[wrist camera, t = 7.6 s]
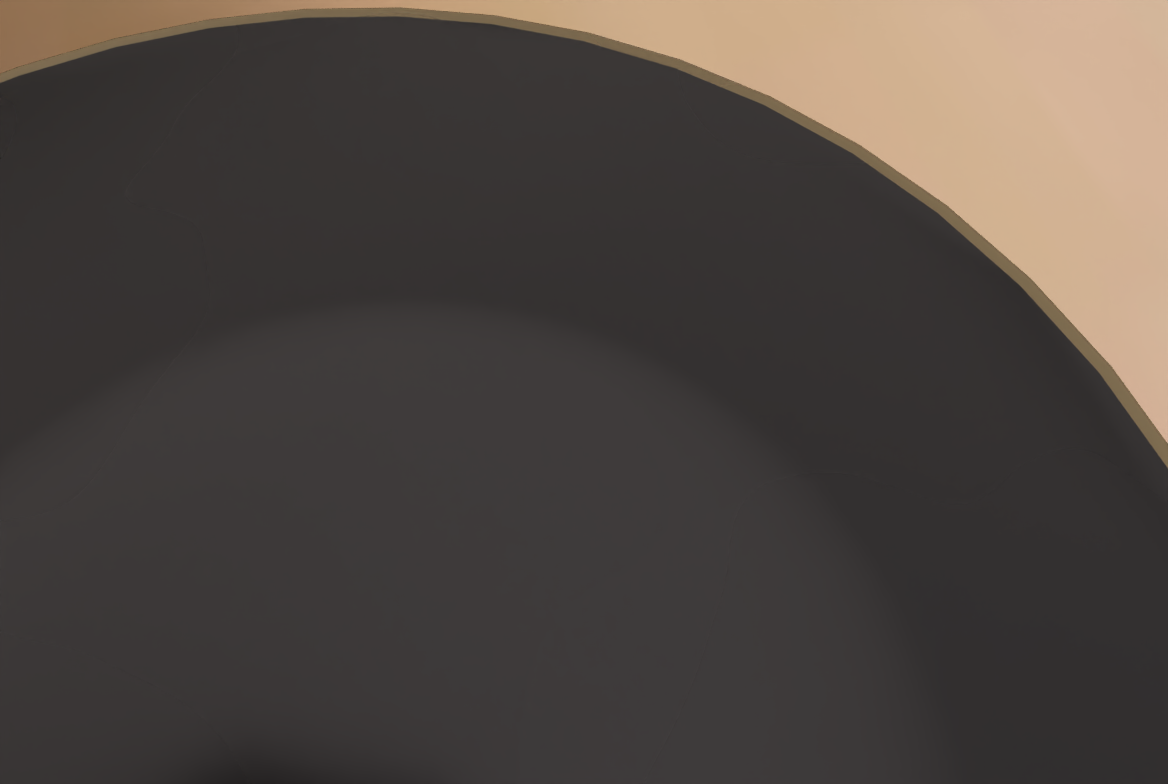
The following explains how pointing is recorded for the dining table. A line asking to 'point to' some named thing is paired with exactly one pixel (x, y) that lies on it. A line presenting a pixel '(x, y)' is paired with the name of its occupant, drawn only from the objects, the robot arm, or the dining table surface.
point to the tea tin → (537, 434)
